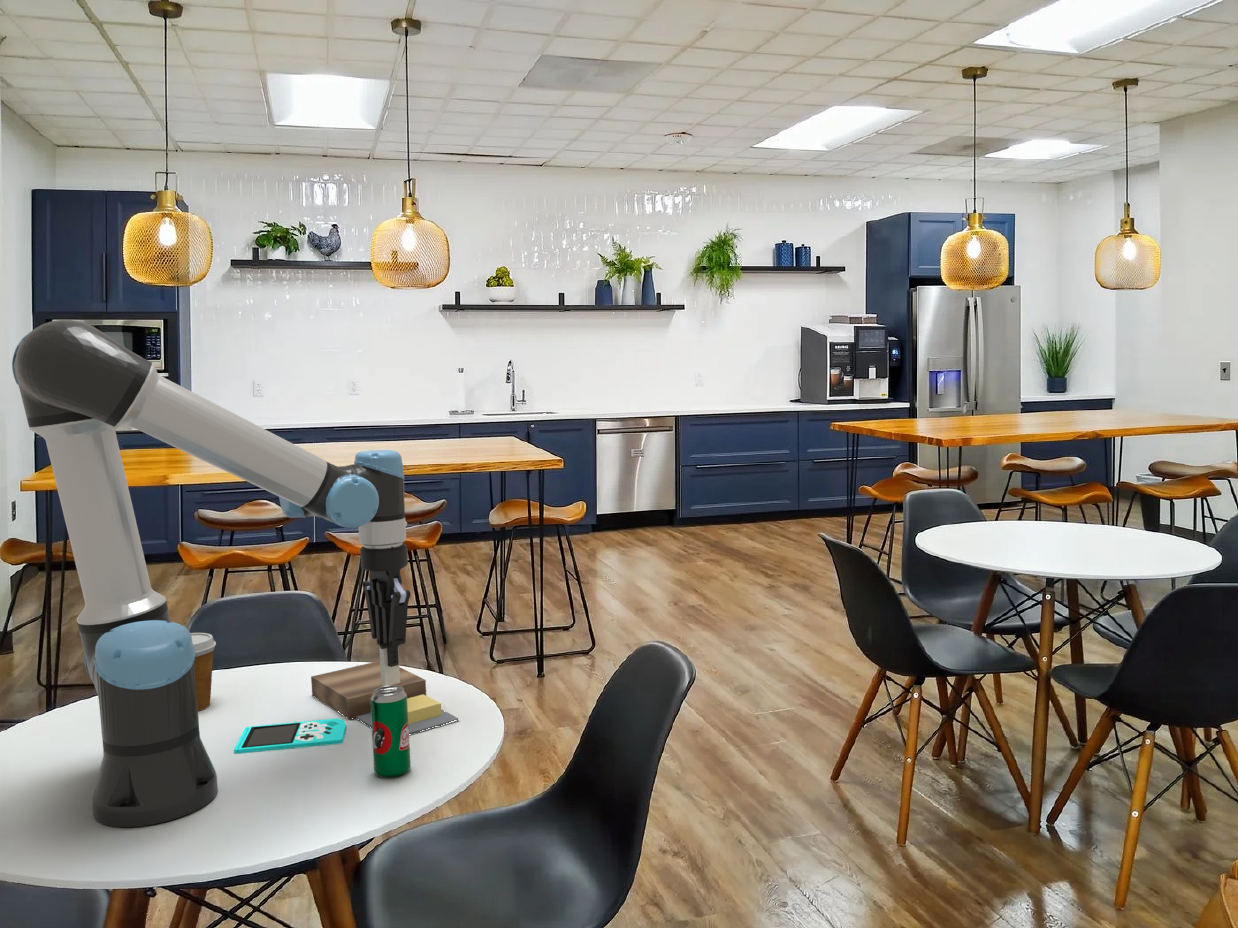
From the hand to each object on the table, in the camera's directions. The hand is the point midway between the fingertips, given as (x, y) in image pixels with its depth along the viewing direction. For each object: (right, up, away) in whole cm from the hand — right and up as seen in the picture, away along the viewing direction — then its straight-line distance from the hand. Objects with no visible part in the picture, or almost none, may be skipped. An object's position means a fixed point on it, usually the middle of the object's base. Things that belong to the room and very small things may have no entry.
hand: (390, 683), depth 161 cm
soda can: (+6, -7, -24) cm, 26 cm away
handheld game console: (-13, -7, -9) cm, 18 cm away
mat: (+4, -5, -4) cm, 7 cm away
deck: (-6, -4, +8) cm, 11 cm away
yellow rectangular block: (+4, -3, -4) cm, 6 cm away
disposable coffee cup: (-36, -6, +5) cm, 37 cm away
